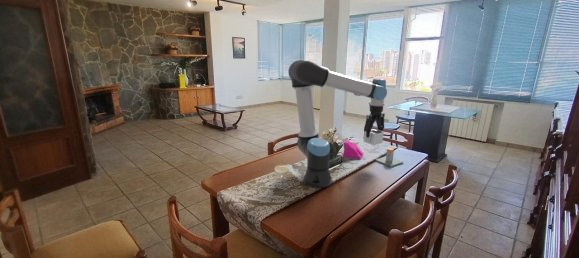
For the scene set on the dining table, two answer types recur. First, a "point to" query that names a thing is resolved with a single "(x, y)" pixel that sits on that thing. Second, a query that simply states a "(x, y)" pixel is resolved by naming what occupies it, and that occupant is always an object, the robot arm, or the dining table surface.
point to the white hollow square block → (375, 137)
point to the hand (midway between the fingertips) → (372, 141)
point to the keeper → (389, 159)
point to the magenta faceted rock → (352, 150)
